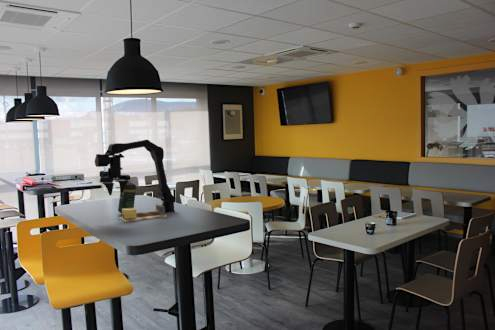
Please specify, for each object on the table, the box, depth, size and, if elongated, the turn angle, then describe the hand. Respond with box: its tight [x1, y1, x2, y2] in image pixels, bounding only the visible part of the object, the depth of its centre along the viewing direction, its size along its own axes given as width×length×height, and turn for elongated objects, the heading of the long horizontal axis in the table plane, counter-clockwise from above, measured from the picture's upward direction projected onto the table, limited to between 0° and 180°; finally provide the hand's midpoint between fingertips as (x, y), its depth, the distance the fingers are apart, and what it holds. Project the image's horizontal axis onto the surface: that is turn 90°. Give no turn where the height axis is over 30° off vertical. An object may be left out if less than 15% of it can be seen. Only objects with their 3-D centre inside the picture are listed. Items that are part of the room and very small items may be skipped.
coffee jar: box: [117, 180, 137, 215], centre depth 234 cm, size 10×8×19 cm
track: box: [119, 203, 167, 223], centre depth 221 cm, size 23×12×6 cm, turn 119°
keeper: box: [121, 207, 137, 219], centre depth 218 cm, size 6×8×4 cm
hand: (116, 194), depth 220 cm, fingers open, 9 cm apart
